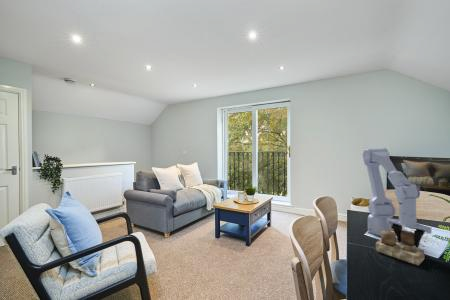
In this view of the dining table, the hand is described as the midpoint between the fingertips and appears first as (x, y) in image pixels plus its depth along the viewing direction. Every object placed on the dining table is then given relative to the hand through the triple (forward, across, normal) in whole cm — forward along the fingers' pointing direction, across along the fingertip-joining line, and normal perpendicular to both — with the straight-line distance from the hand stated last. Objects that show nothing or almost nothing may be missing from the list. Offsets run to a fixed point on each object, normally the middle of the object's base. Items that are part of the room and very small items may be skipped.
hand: (408, 244), depth 90 cm
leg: (+3, 0, 0) cm, 3 cm away
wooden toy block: (+3, -1, -8) cm, 8 cm away
